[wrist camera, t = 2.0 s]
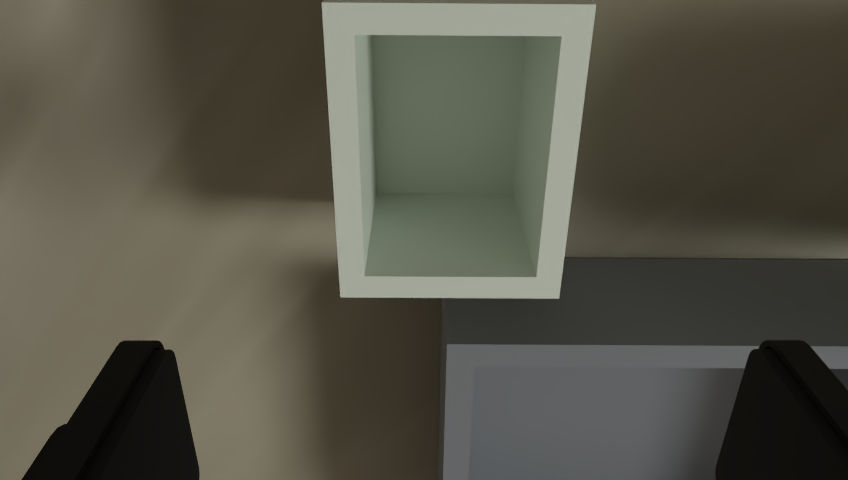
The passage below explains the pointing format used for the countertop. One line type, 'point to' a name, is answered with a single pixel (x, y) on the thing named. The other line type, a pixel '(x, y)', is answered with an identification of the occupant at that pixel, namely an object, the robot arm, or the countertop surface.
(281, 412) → the countertop surface
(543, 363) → the charcoal crate
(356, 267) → the sage crate
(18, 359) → the countertop surface
